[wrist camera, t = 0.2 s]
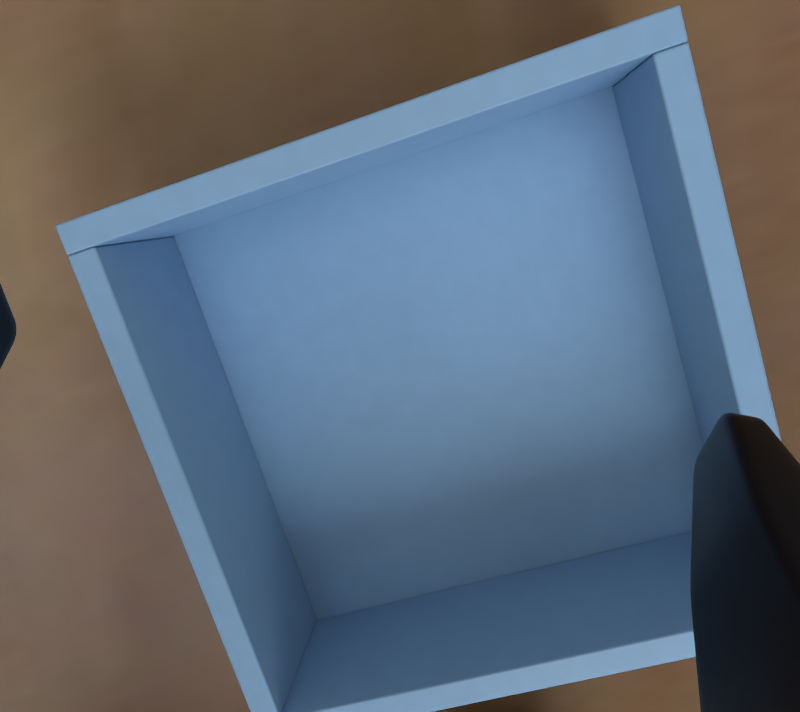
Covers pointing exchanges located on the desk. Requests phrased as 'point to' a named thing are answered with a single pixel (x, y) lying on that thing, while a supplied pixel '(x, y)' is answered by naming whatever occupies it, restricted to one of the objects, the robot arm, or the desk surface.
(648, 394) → the tote
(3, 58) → the desk surface
